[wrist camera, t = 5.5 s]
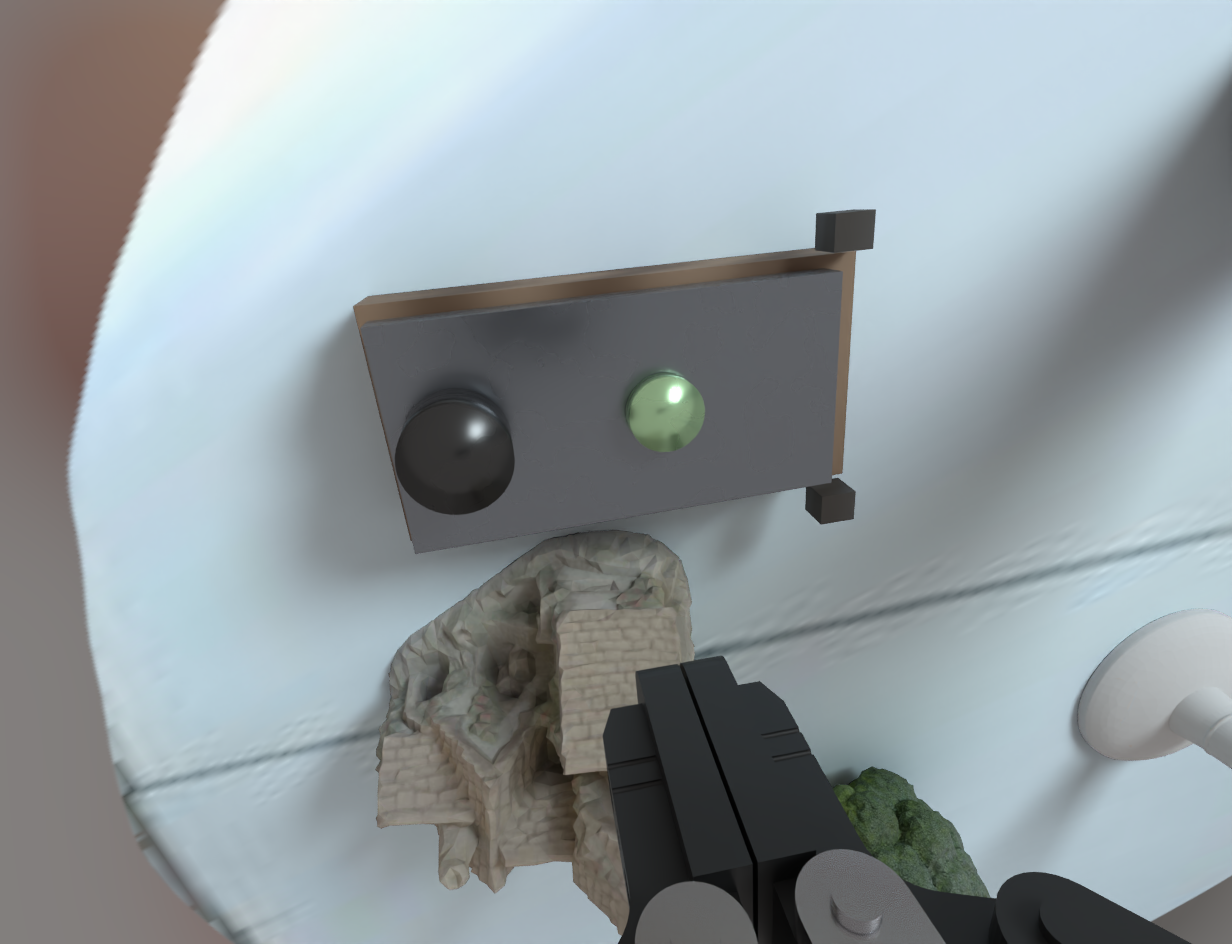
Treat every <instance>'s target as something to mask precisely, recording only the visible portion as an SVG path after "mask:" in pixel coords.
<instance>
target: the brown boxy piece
mask: <svg viewBox="0 0 1232 944" xmlns="http://www.w3.org/2000/svg"><path fill="white" fill-rule="evenodd" d="M875 214H876V210H845V211H835V212H825V213H816V235H815V248H811V249H801V250H792V251H783V252H774V253H764V254H755V255H746V256H737V257H727V258H718V259H709V260H699V261H690V262H681V263H672V264H662V265H653V266H644V267H635V268H625V269H616V270H607V271H598V272H588V273H579V274H570V275H560V276H551V277H542V278H533V279H523V280H514V281H505V282H496V283H486V284H477V285H468V286H459V287H449V288H440V289H431V290H421V291H412V292H403V293H394V294H384V295H375V296H368V297H366V298H365V299H363V300H362V301H360V302H359V303H357V304H356V305H354V306H353V308H354V312H355V316H356V320H357V324H358V328H359V332H360V337H361V341H362V345H363V349H364V353H365V357H366V361H367V365H368V369H369V373H370V377H371V381H372V385H373V389H374V393H375V397H376V402H377V406H378V410H379V414H380V418H381V422H382V426H383V430H384V434H385V438H386V442H387V446H388V450H389V454H390V458H391V462H392V466H393V471H394V475H395V479H396V483H397V487H398V491H399V495H400V499H401V503H402V507H403V511H404V515H405V519H406V523H407V527H408V531H409V536H410V540H411V541H412V538H411V534H410V530H409V526H408V522H407V517H406V513H405V509H404V505H403V501H402V497H401V493H400V489H399V485H398V481H397V477H396V473H395V468H394V464H393V460H392V456H391V452H390V448H389V444H388V440H387V436H386V432H385V428H384V424H383V420H382V415H381V411H380V407H379V403H378V399H377V395H376V391H375V387H374V383H373V379H372V375H371V371H370V367H369V362H368V358H367V354H366V350H365V346H364V342H363V338H362V334H361V330H360V328H361V327H362V326H363V325H364V324H365V323H366V322H367V321H373V320H382V319H390V318H399V317H408V316H416V315H425V314H433V313H442V312H451V311H459V310H468V309H476V308H485V307H494V306H502V305H511V304H519V303H528V302H537V301H545V300H554V299H562V298H571V297H580V296H588V295H597V294H605V293H614V292H623V291H631V290H640V289H648V288H657V287H666V286H674V285H683V284H691V283H700V282H709V281H717V280H726V279H734V278H743V277H752V276H760V275H769V274H777V273H786V272H795V271H803V270H812V269H820V268H826V269H832V270H838V271H843V280H842V299H841V317H840V335H839V354H838V372H837V390H836V408H835V427H834V445H833V463H832V475H835V474H842V470H843V454H844V437H845V421H846V405H847V389H848V372H849V356H850V340H851V324H852V308H853V291H854V275H855V259H856V250H865V249H873V241H874V227H875ZM854 506H855V491H854V490H853V489H852V488H850V487H849V486H848V485H847V484H845V483H844V482H843V481H841V480H840V479H839V478H834V479H832V482H831V483H826V484H820V485H815V486H809V487H806V504H805V510H806V511H808V512H809V513H810V514H811V515H812V516H813V517H814V518H815V519H816V520H817V521H818V522H819V523H820V524H827V523H833V522H839V521H845V520H851V519H854Z"/></svg>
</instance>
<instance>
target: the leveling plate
mask: <svg viewBox="0 0 1232 944" xmlns="http://www.w3.org/2000/svg"><path fill="white" fill-rule="evenodd" d="M842 280H843V271H838V270H832V269H826V268H820V269H812V270H803V271H795V272H786V273H777V274H769V275H760V276H752V277H743V278H734V279H726V280H717V281H709V282H700V283H691V284H683V285H674V286H666V287H657V288H648V289H640V290H631V291H623V292H614V293H605V294H597V295H588V296H580V297H571V298H562V299H554V300H545V301H537V302H528V303H519V304H511V305H502V306H494V307H485V308H476V309H468V310H459V311H451V312H442V313H433V314H425V315H416V316H408V317H399V318H390V319H382V320H373V321H367V322H366V323H365V324H364V325H363V326H362V327H361V328H360V330H361V334H362V338H363V342H364V346H365V350H366V354H367V358H368V362H369V367H370V371H371V375H372V379H373V383H374V387H375V391H376V395H377V399H378V403H379V407H380V411H381V415H382V420H383V424H384V428H385V432H386V436H387V440H388V444H389V448H390V452H391V456H392V460H393V464H394V468H395V473H396V477H397V481H398V485H399V489H400V493H401V497H402V501H403V505H404V509H405V513H406V517H407V522H408V526H409V530H410V534H411V538H412V542H413V546H414V550H415V554H418V553H424V552H429V551H435V550H441V549H447V548H453V547H459V546H464V545H470V544H476V543H482V542H488V541H494V540H499V539H505V538H511V537H517V536H523V535H529V534H534V533H540V532H546V531H552V530H558V529H564V528H570V527H575V526H581V525H587V524H593V523H599V522H605V521H610V520H616V519H622V518H628V517H634V516H640V515H645V514H651V513H657V512H663V511H669V510H675V509H680V508H686V507H692V506H698V505H704V504H710V503H715V502H721V501H727V500H733V499H739V498H745V497H750V496H756V495H762V494H768V493H774V492H780V491H785V490H791V489H797V488H803V487H809V486H815V485H820V484H826V483H831V482H832V463H833V445H834V427H835V408H836V390H837V372H838V354H839V335H840V317H841V299H842Z"/></svg>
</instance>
